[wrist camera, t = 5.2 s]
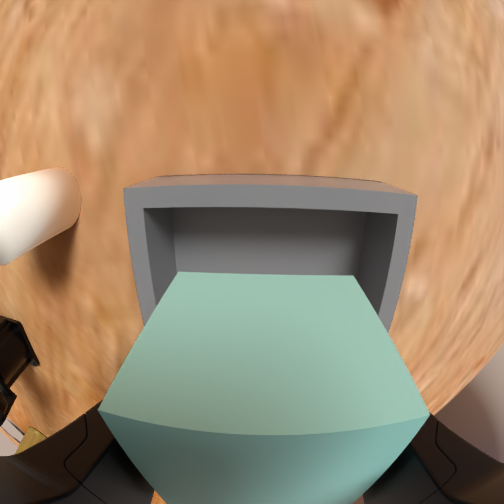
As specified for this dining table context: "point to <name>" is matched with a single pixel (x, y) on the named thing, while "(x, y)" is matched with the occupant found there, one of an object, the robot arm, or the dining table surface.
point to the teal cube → (263, 392)
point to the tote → (269, 231)
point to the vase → (30, 439)
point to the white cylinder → (36, 209)
